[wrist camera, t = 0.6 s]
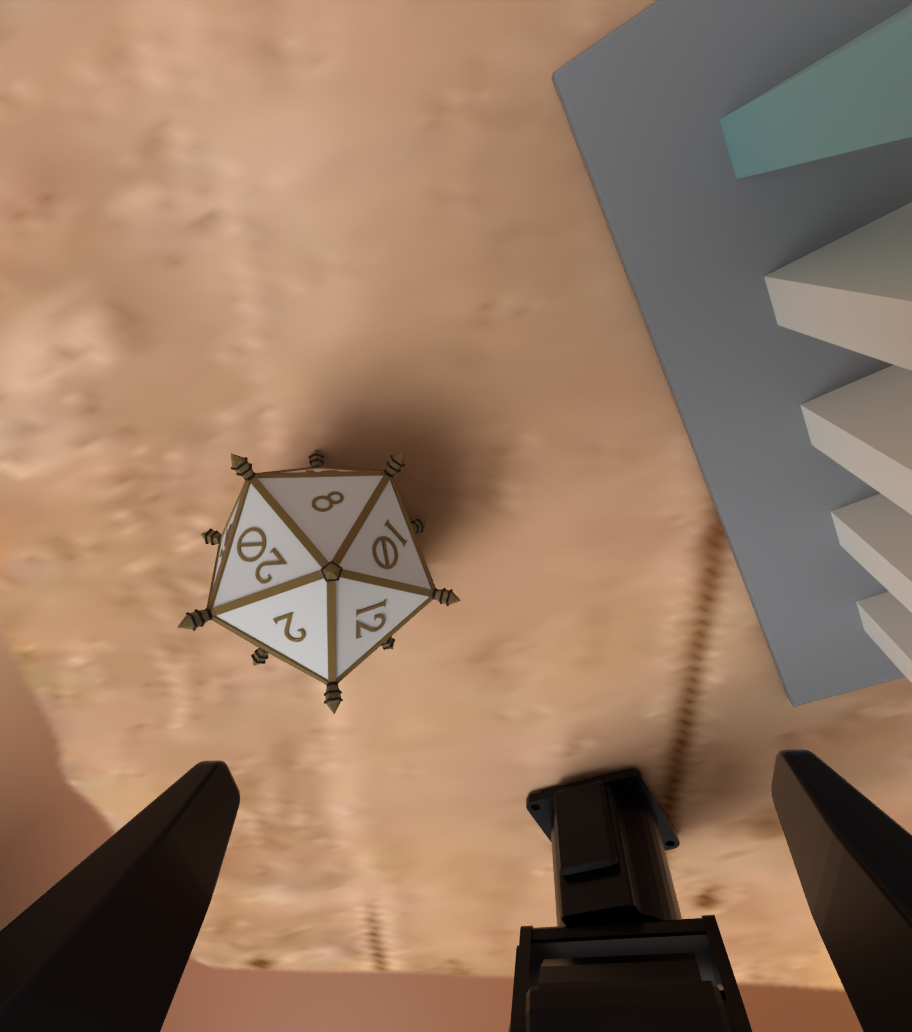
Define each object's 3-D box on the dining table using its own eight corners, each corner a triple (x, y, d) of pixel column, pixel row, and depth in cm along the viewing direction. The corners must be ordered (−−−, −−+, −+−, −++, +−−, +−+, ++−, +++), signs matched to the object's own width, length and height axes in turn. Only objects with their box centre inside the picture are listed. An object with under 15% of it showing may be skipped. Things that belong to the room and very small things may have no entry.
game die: (335, 488, 26) (105, 559, 19) (416, 369, 20) (120, 411, 13) (433, 648, 24) (219, 788, 18) (552, 572, 18) (297, 740, 12)
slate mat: (1108, 607, 21) (1123, 616, 21) (787, 696, 25) (793, 706, 24) (1065, -275, 12) (1092, -299, 11) (551, 78, 15) (553, 72, 15)
